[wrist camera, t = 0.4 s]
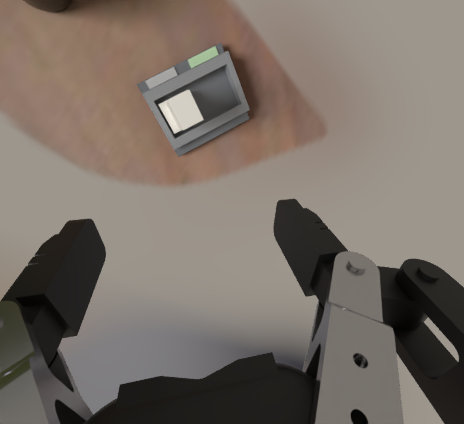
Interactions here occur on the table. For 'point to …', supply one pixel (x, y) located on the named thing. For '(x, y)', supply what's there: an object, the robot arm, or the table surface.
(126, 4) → the table surface
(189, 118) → the block
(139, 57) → the table surface
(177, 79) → the grey slotted stand
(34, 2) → the supplement bottle
